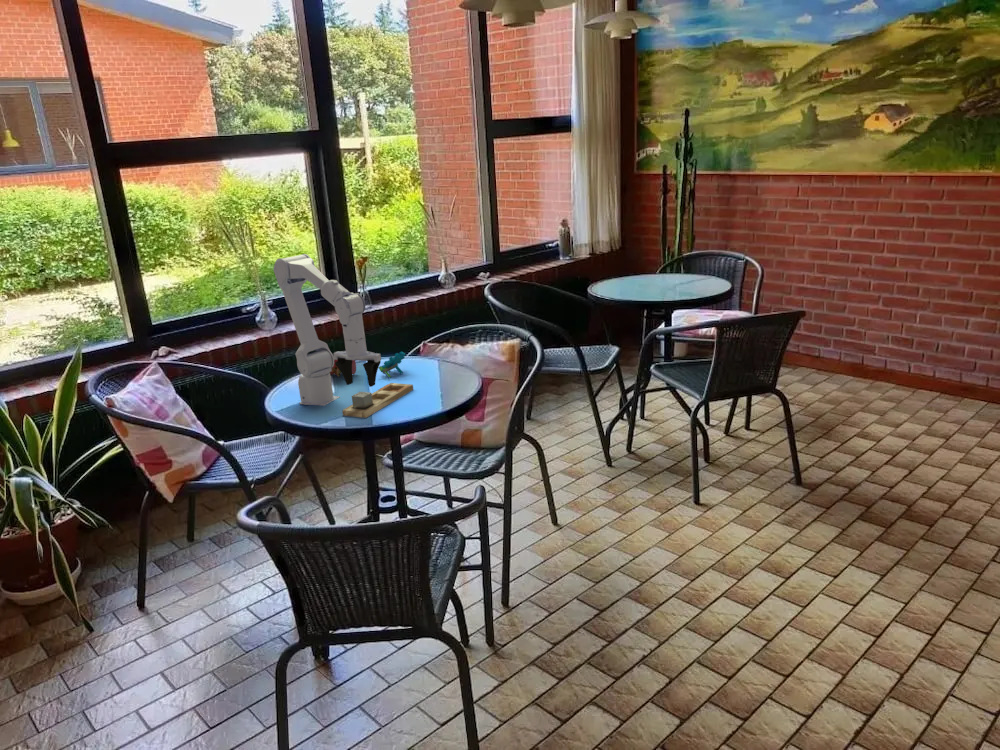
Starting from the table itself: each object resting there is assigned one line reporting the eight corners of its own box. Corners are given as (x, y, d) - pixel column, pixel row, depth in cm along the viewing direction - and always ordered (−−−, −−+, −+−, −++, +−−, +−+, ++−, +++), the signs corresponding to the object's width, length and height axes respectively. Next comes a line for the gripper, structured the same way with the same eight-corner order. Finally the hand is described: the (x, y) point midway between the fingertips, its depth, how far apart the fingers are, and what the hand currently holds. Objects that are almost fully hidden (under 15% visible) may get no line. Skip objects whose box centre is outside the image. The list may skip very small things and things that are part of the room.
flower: (328, 383, 253) (337, 356, 255) (353, 388, 249) (361, 360, 251) (309, 373, 243) (318, 345, 245) (334, 378, 239) (343, 348, 241)
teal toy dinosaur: (397, 362, 254) (406, 346, 246) (408, 375, 253) (417, 359, 245) (372, 375, 247) (381, 358, 239) (383, 388, 246) (392, 372, 238)
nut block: (353, 412, 211) (351, 396, 210) (362, 408, 214) (359, 391, 213) (365, 413, 209) (363, 397, 208) (373, 409, 213) (371, 392, 211)
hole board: (343, 416, 210) (342, 409, 209) (391, 388, 231) (390, 382, 231) (366, 419, 206) (365, 412, 206) (413, 390, 228) (412, 384, 227)
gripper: (324, 340, 205) (331, 387, 209) (368, 343, 199) (374, 390, 203) (339, 334, 211) (346, 379, 215) (382, 336, 205) (388, 382, 209)
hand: (360, 384), depth 210 cm, fingers open, 7 cm apart
